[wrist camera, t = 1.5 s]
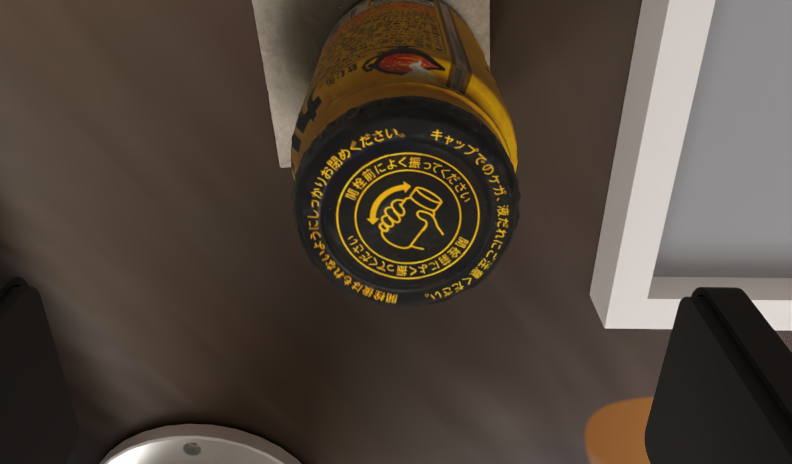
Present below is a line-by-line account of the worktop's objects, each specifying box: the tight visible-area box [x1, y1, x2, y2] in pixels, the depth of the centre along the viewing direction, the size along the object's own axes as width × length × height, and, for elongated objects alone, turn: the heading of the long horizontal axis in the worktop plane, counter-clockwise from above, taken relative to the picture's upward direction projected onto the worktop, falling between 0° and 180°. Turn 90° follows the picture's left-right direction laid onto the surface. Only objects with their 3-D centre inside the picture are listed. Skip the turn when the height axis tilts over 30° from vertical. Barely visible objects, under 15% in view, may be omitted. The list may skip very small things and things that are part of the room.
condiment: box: [252, 0, 520, 307], centre depth 21 cm, size 7×8×12 cm
